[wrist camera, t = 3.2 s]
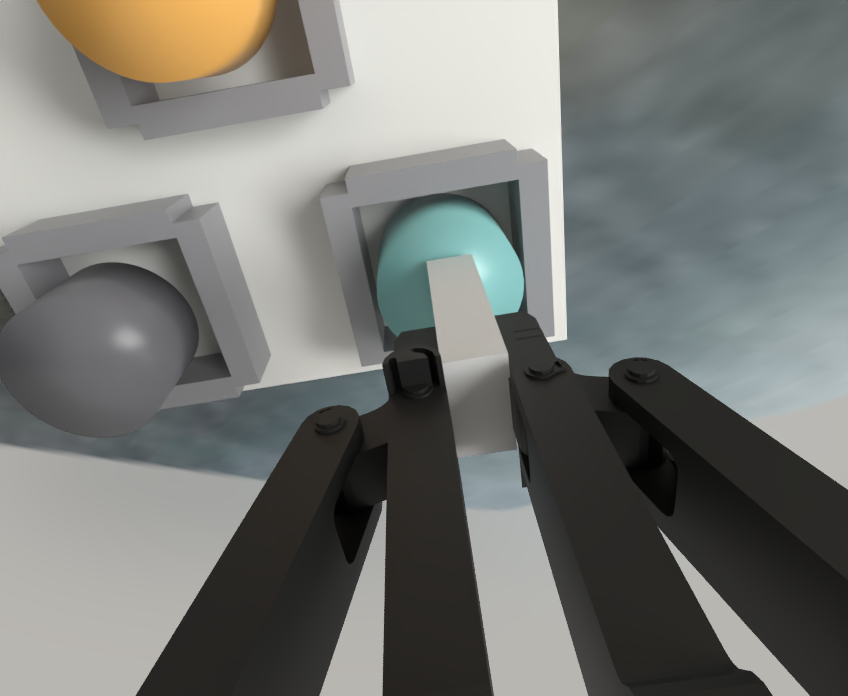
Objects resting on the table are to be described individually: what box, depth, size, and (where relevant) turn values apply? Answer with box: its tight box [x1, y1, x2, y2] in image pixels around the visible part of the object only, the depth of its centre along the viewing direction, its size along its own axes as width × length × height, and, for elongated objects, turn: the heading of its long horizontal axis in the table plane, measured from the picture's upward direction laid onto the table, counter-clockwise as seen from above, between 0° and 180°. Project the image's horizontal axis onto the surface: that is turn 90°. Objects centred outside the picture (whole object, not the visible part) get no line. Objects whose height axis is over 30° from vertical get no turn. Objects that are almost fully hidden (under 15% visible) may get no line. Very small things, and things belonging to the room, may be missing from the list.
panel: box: [0, 0, 567, 410], centre depth 19 cm, size 22×20×4 cm
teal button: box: [377, 193, 524, 337], centre depth 20 cm, size 5×5×4 cm
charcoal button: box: [0, 262, 199, 437], centre depth 18 cm, size 5×5×4 cm
